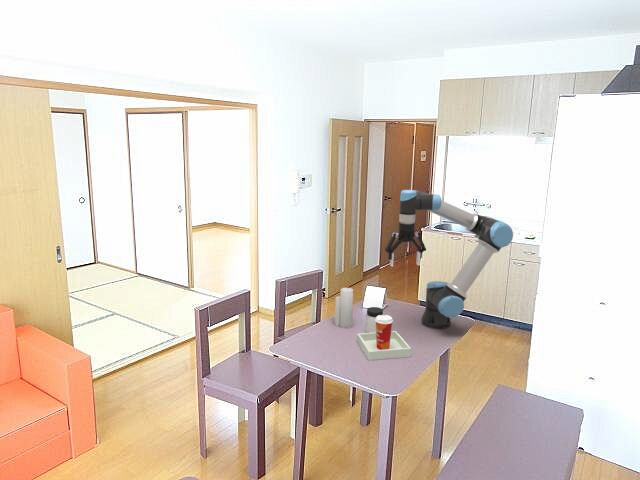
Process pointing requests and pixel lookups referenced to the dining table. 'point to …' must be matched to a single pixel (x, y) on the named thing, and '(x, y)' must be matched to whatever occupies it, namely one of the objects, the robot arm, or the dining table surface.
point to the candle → (344, 308)
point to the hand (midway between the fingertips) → (404, 265)
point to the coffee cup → (383, 331)
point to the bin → (395, 350)
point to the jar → (372, 318)
